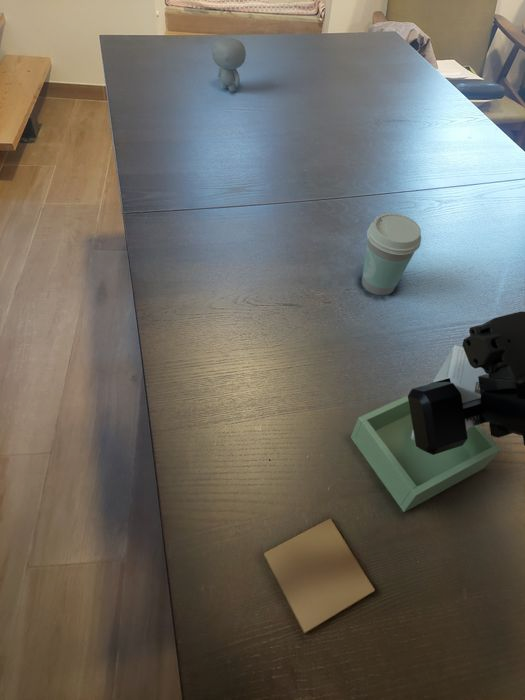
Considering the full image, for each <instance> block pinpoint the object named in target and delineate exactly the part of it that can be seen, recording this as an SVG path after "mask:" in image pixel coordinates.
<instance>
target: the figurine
mask: <svg viewBox="0 0 525 700" xmlns="http://www.w3.org/2000/svg"><path fill="white" fill-rule="evenodd" d="M246 51H247V50H246V48H245V45H244V44H243V42H241V41H240V40H239V39H237V38H235V37H231V36H224V37H221V38H219V39H218V40H216V41H215V43H214V44H213V47H212V50H211V54H212V56H211V57H212V59H213V61H214V63H215V64H216V66H218V69H217V78H219V79H220V82H221V87H222V89H224V90H227V89H228V91H229V92H230V93H234V91H235V90H236V86H240V81H241V79H240V78H241V77H240V73H239V72H238V70H237V69H239V68H240V67H242V66H243V65H244V64H245V60H246V55H247V52H246Z"/></svg>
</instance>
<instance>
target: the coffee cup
mask: <svg viewBox="0 0 525 700" xmlns="http://www.w3.org/2000/svg"><path fill="white" fill-rule="evenodd" d="M421 233H422V231H421V228H420V225H419V224H418V223H417V221H415V220H414V219H412V218H411V217H409V216H407V215H403V214H401V213H395V212H393V213H391V212H389V213H383V214H380V215H378V216H376V217H375V218H374V220H373V221H372V222H371V223H370V225H369V227H368V228H367V231H366V236H367V242H366V249H365V256H364V262H363V268H362V276H361V285H362V287H363V288H364V289H365V290H366V291H367V292H369V293H371V294H373V295H376V296H388V295H390V294H391V293H393V292H394V291H395V290H396V287H397V285H398V284H399V282H400V280H401V278H402V276H403V275H404V273H405V271H406V269H407V267H408V265H409V263H410V262H411V260H412V258H413V256H414V255H415V252H416V251H418V250H419V248H420V247H421V243H422V234H421Z"/></svg>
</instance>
